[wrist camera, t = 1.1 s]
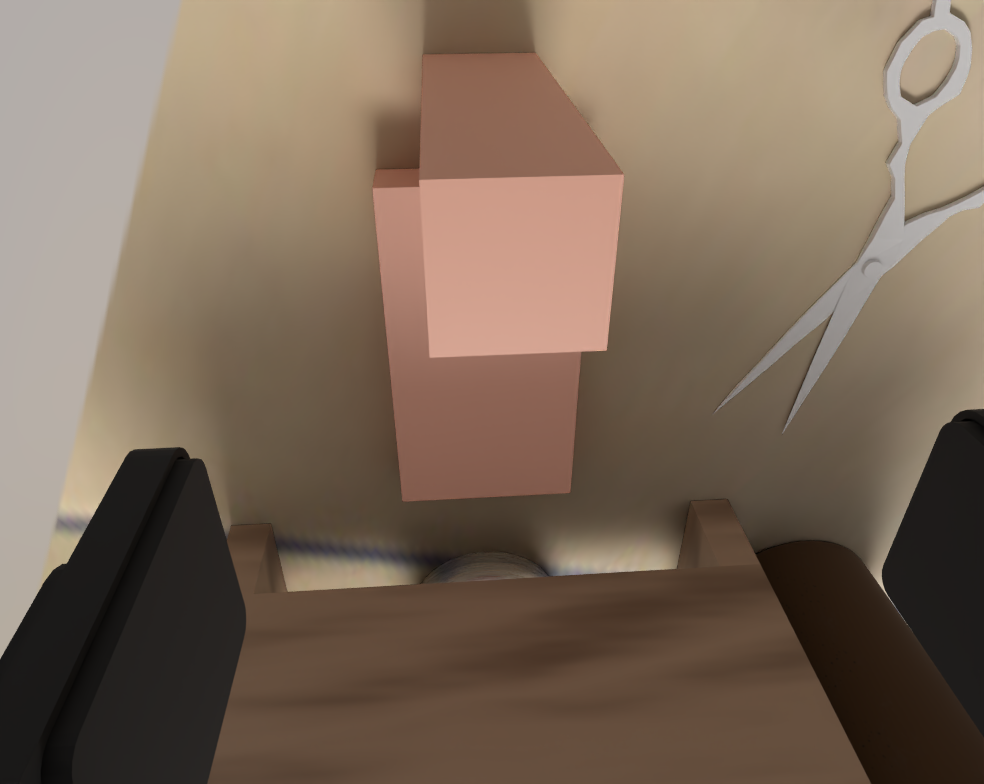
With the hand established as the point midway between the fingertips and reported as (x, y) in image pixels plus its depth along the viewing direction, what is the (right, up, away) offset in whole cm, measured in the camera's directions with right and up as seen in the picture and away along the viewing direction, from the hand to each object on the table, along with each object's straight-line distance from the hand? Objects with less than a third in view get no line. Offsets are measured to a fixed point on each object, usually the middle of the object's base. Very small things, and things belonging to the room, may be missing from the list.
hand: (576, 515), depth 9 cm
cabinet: (-1, -8, +30) cm, 31 cm away
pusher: (-2, +6, +21) cm, 22 cm away
